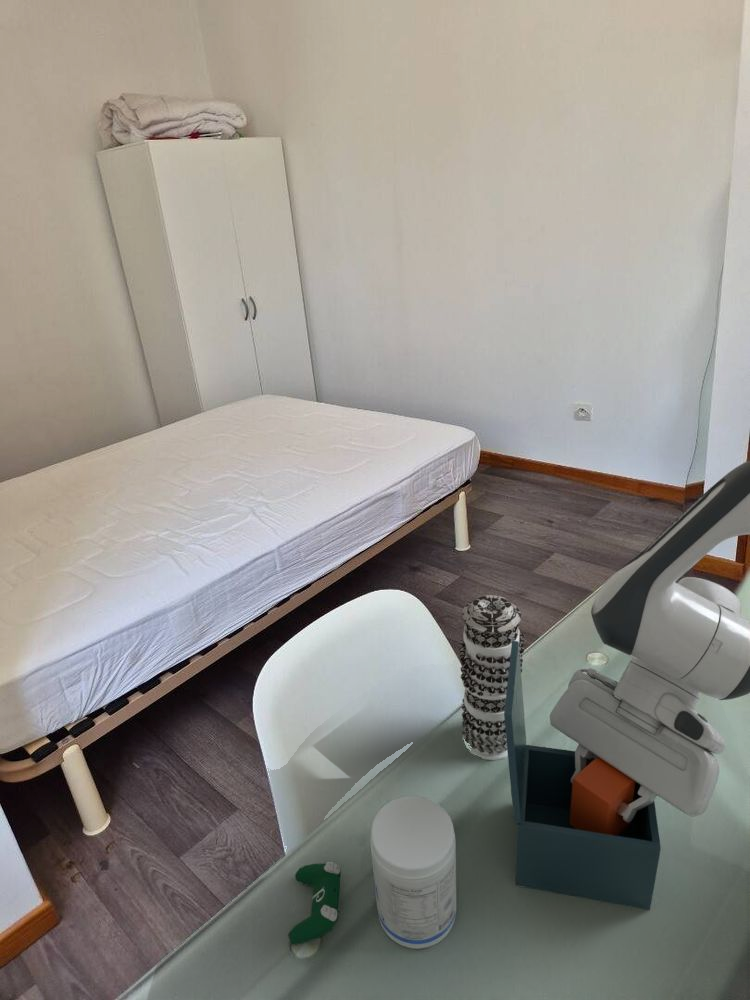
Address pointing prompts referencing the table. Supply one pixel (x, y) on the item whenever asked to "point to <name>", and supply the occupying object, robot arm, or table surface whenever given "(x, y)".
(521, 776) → the lid
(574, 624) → the table surface
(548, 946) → the table surface
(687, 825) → the table surface
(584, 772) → the block
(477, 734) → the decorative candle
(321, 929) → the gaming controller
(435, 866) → the supplement tub
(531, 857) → the dark teal open box
